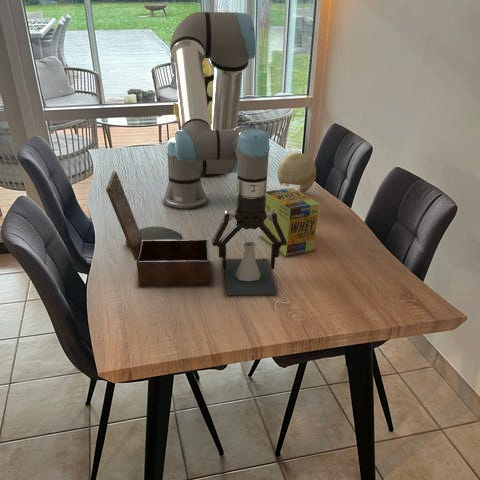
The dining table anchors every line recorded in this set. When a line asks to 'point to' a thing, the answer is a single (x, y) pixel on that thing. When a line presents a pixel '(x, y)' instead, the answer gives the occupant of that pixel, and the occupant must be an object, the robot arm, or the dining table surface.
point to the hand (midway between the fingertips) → (248, 267)
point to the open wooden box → (173, 263)
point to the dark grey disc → (158, 234)
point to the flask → (248, 264)
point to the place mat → (248, 287)
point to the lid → (124, 214)
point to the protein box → (292, 219)
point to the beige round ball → (297, 171)
